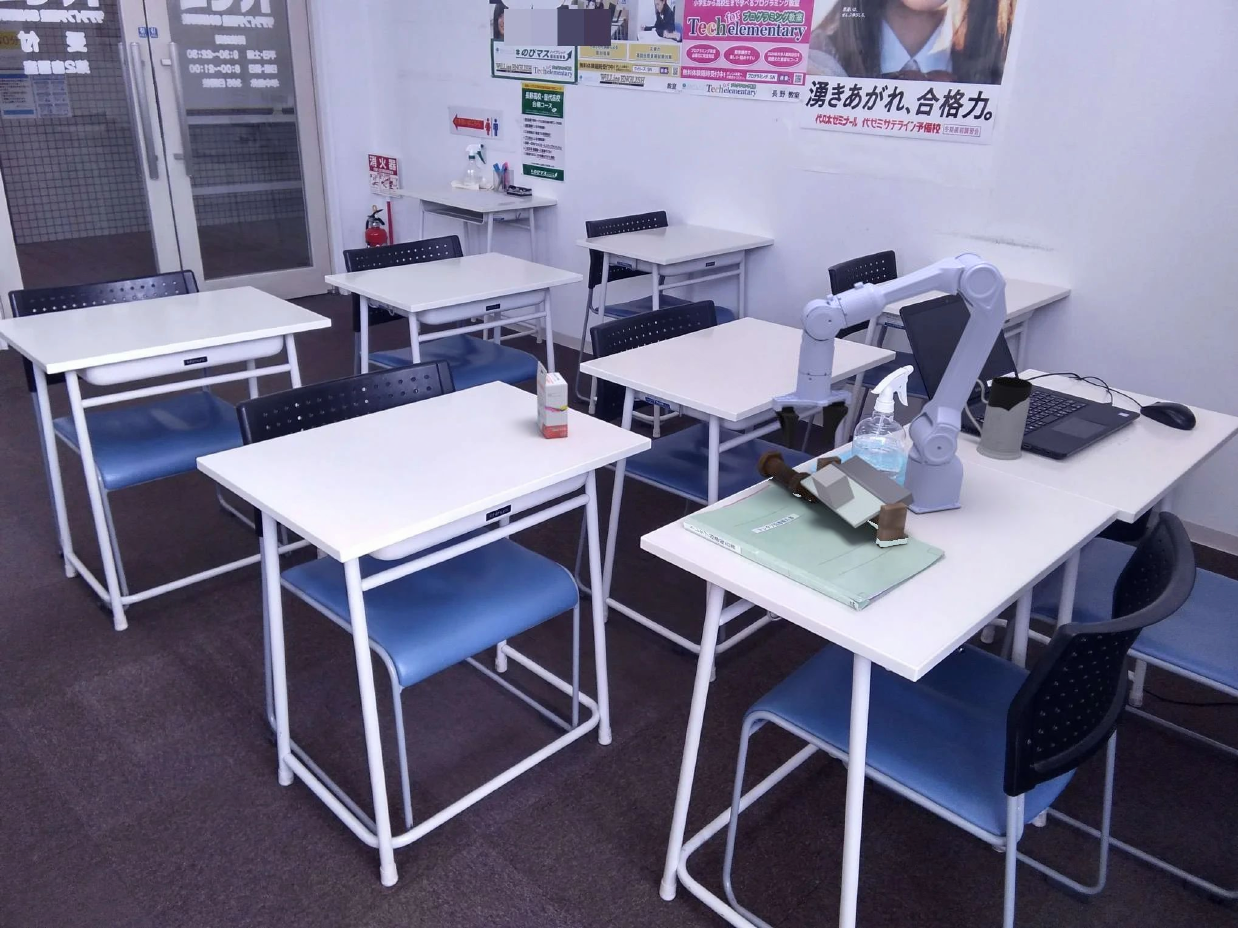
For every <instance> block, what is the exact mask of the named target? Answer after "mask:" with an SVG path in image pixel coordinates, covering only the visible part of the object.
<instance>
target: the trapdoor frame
mask: <svg viewBox="0 0 1238 928" xmlns="http://www.w3.org/2000/svg"><path fill="white" fill-rule="evenodd" d="M833 461H834V462H836V463H837V464H838V465H839V464H841V463H842V458H840V457H839V456H837V455H835V456H827V457H819V458H817V460H816V470H815V473H816V472H817V471H819V470H821V469H822V468H824V467H826V466H827V465H829V464H831V462H833ZM908 509H909V508H908V506H906V505H905V504H904V503H902V502H901V503H894V504H887V505H881V508H880V513H879V514H878V515H876V516H875V517H873V518H871V519H870V520H869V521H871V522H873V523H875V524H877V525H878V529H877V530H876V537H875V539H876V538H878V539H879V540H880V541H893V540H898V539H905V538H908V539H909V535H908V534H906V532H905V527H906V520H907V515H908Z"/></svg>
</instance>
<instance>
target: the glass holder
mask: <svg viewBox="0 0 1238 928" xmlns="http://www.w3.org/2000/svg"><path fill="white" fill-rule="evenodd" d="M976 382H977V383H978V384H979V385H980V387H981V396H980V397H981V401H982V403H984V404H986V407H985V408H986V409H985V412H984V419H983V423H982V428H981V426H980V425H979V424H978V422H977V421H976V420H975V418H974V416H973V415H972V413H971V412H970V410H969V407H968V403H967V402H966V404H965V406H964V410H965V412H966V415H967V416H968V417H969V419H970V420H971V421H972V424H973V425H974V426H975V427H976V428H977V430H978V431H979V433H980V439H979V440H980V441H979V444H978V445H977V446H976V451H977V453H979V454H981V455H982V456H984V457H987V458H990V459H992V460H993V459H994V460H998V461H999V460H1001V461H1014V460H1019V459H1020V458H1022V456H1023V455H1022V451H1021V450H1022V449H1021V447H1022V444H1023V439H1024V433H1025V428H1026V423H1027V417H1028V413H1029V408H1030V404H1031V393H1032V388H1033V383H1032V382H1031V381H1029V380H1026V379H1023V378H1020V377H1014V376H996V377H994V378H992V379H991V383H990V384H991V385H990V390H989V395H988V400H986V399H985V392H986V391H985V385H984V383H983V382H982V381H981V380H980V379H979V378H978V379H977V381H976Z"/></svg>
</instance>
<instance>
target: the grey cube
mask: <svg viewBox="0 0 1238 928" xmlns="http://www.w3.org/2000/svg"><path fill="white" fill-rule="evenodd" d="M812 474H813V475H812ZM812 474H811V477H812V480H813V482H814V485H815V488H816V490H817V493H818V495H819V498H820V499H821V500H823V501H824V502H825V503H827V504H828V505H829V506H830V507H832V508H833V509H834V510H836V509H837V508H839V507H841V506H842V505H844V504H846V503H847V502H849V501H850V500H852V499H854V498H855V497H854V495H853V492H852V489H851V486H850V484H849V481H848V478H847V475H846V474H844V473H843V472H842V471H840V470H839V469H837V468H836V467H835V466H833V465H832V464H829V465H827V466H826V467H824V468H822V469H821V470H819V471H817V472H816V471H815V472H814V473H812ZM820 499H819V500H820ZM821 500H820V501H821ZM823 501H822V502H823ZM824 502H823V503H824ZM825 503H824V504H825ZM829 506H828V507H829ZM830 507H829V508H830ZM834 510H833V511H834Z"/></svg>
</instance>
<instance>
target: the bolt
mask: <svg viewBox="0 0 1238 928" xmlns="http://www.w3.org/2000/svg"><path fill="white" fill-rule="evenodd" d="M756 468H757V470H758V473H759V475H760V476H761V477H763V479H767V478H772V477H773V478H775V479H776V480H778V481H779V482H781V483H783V484H784V485H785V486H787V487H788V489H789V491H790V493H791V494H792V493H794V494H799V495H801V496H803V497H802V498H805V499H806V498H807V499H809V500H811V501H816V502H818V501H819V500H820V499H819V498H818V497H816V496H815V495H814V494H813V493H812V492H810V491H809V490H808V489H807V488H805V487H804V486H803V485H802V484H801V481H802V480H804V479H806V478H807V477H809V476H811V475H812V474H811V473H809V472H807V471H802V472H798V471H797V470H795V469H794V468H792V467H791V466H790V465H788V464H786V462H785V459H784V457H783V455H782V452H780V451H779V450H774V449H773V450H767V451H765V452H764V453H763V454H762V455H761V456H760V458H759V459H758V462H757V464H756ZM807 499H806V500H807ZM809 500H808V501H809Z"/></svg>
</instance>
